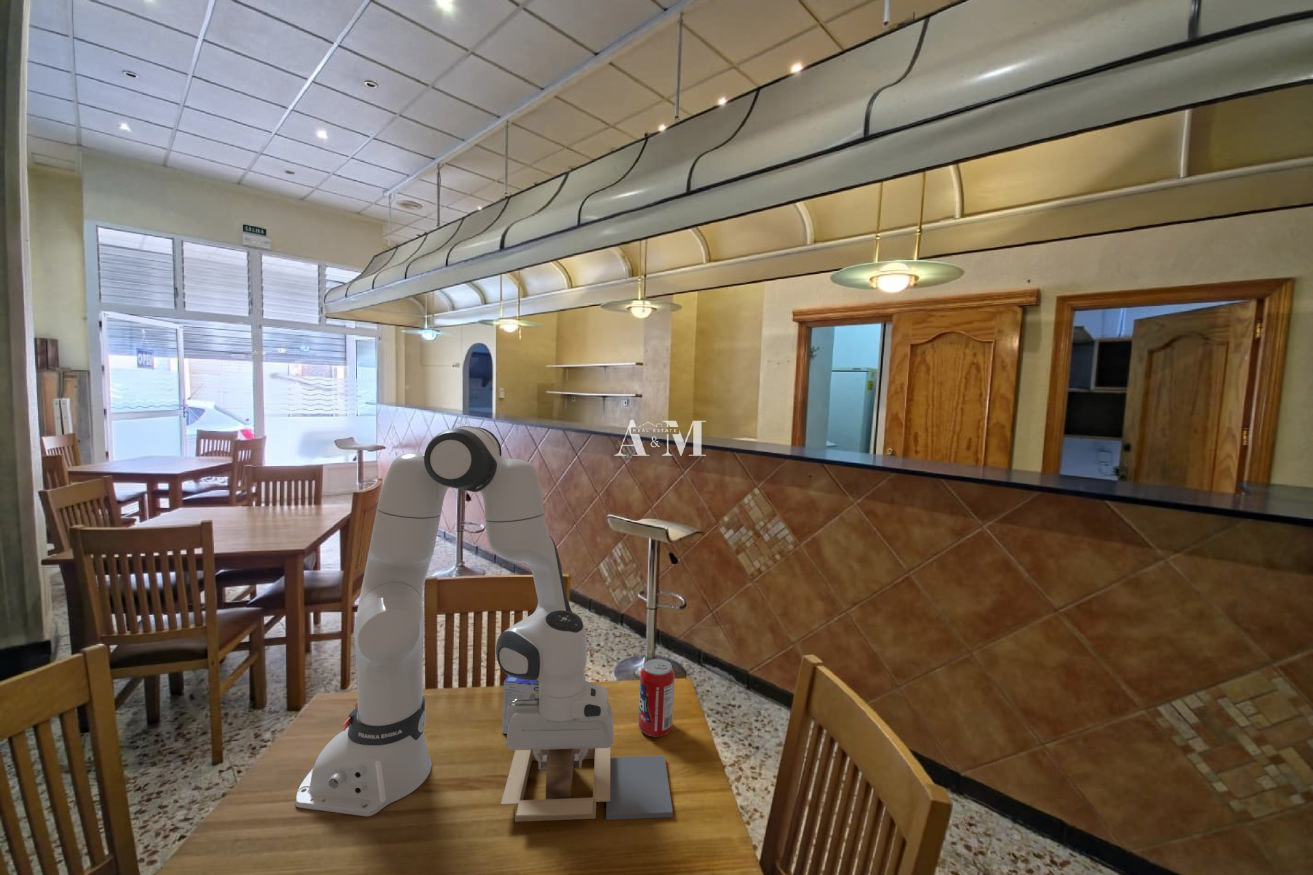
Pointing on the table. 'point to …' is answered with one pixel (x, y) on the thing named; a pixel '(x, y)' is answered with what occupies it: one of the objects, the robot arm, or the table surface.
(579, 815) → the beige hollow square frame
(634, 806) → the mat
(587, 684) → the robot arm
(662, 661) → the soda can
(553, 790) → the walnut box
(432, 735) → the table surface
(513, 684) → the ink cartridge box
